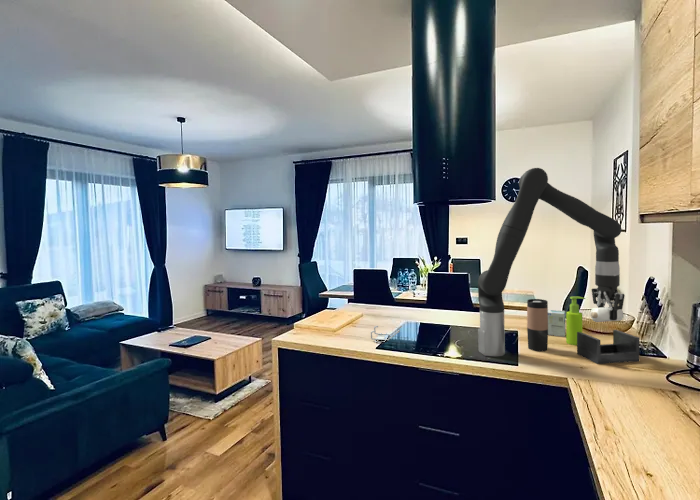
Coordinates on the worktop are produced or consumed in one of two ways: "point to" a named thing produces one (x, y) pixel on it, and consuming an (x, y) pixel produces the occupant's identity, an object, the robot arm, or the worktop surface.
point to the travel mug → (537, 324)
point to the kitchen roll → (604, 314)
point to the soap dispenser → (573, 321)
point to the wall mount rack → (384, 335)
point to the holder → (609, 348)
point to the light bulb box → (556, 323)
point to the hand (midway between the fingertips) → (607, 318)
